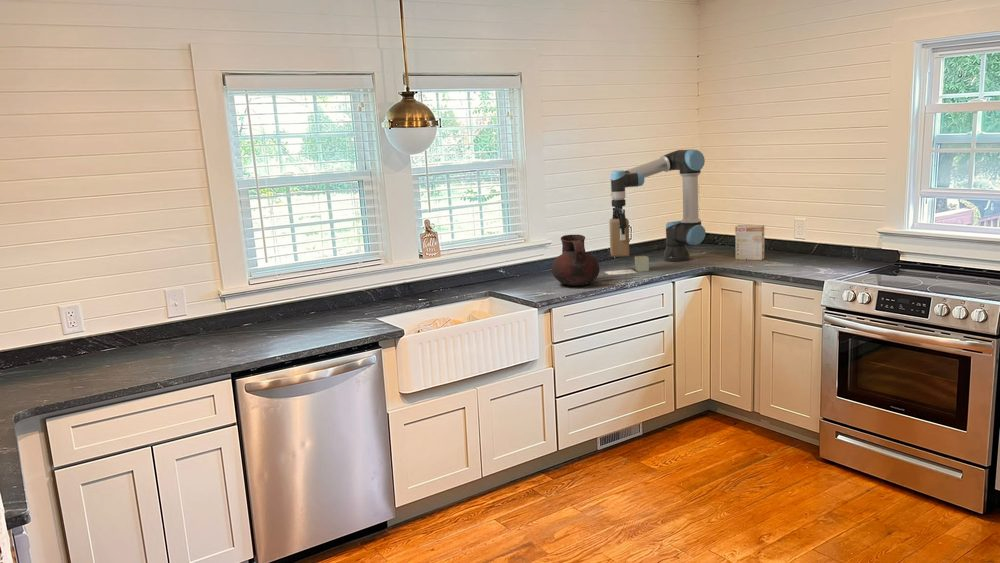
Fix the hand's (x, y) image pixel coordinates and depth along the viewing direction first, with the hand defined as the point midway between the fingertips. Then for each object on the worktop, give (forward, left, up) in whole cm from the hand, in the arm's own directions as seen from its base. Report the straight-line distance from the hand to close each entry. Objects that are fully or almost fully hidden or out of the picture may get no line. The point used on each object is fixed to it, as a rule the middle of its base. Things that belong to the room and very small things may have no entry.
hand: (619, 238), depth 408 cm
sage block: (-12, 0, -19) cm, 23 cm away
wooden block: (0, 0, -9) cm, 9 cm away
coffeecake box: (-80, -7, -19) cm, 83 cm away
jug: (+31, +21, -19) cm, 42 cm away
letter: (0, 0, -19) cm, 19 cm away
